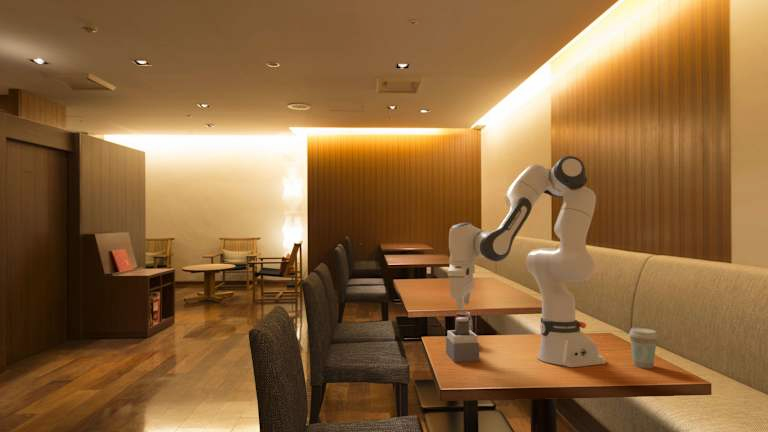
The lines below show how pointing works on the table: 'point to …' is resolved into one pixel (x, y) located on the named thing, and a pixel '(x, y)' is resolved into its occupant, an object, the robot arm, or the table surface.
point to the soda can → (468, 315)
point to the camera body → (462, 347)
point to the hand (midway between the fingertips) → (463, 306)
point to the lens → (461, 326)
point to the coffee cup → (643, 346)
